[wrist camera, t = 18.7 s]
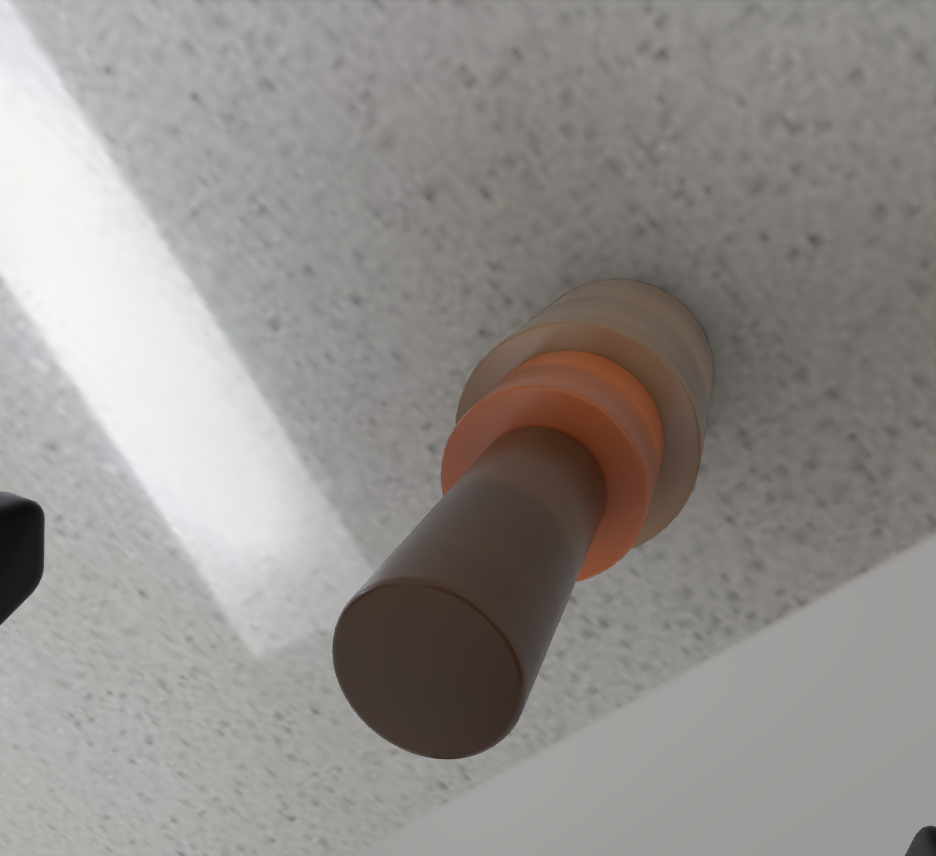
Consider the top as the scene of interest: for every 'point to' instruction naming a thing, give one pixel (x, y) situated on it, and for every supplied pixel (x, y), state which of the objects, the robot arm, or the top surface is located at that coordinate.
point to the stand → (639, 352)
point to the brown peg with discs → (500, 554)
